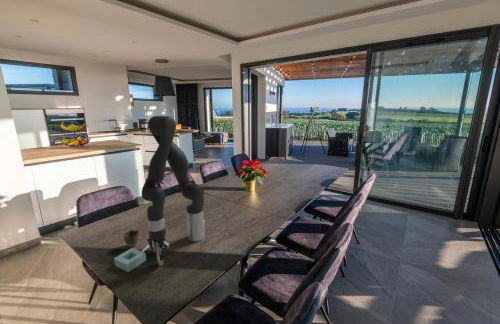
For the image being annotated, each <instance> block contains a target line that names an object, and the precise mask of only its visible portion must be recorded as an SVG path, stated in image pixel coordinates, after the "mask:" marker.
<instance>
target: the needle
mask: <svg viewBox="0 0 500 324" xmlns="http://www.w3.org/2000/svg"><path fill="white" fill-rule="evenodd" d="M161 251H162V250H161ZM156 252H157V259H156V260H157V266H158V267H161V266H164V260H162V261H161V260H160V253H159V250H158V248H157V245H156Z"/></svg>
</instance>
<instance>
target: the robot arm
mask: <svg viewBox="0 0 500 324" xmlns="http://www.w3.org/2000/svg"><path fill="white" fill-rule="evenodd" d="M147 126H148V129H149V132H150V133H151V135H152V136H153V138H154V139H155V141H156V142H157V144H158V146H157V149H156V150H155V152H154V154H153V155H152V156H151V159H150V161H149V166H148V172H147V177H146V178H145V182H144V184H143V187H142V189H141V197H142V199H143V200H144V201H147V202H151V203H152V204H151V205H150V206H148V207H147V208H146V209H147V210H146V215H147V227H148V236H149V237H148V238H147V239H146V240H147V244H148V245H149V248H150V250H151V251H153V252H154V257H155V259H156V260H157V252H156V245H157V248H158V250H159V253H160V260H161V261H162V260H163V261H164V260H165V259H166V253H167V252H168V251H169V249H170V248H171V247H170V246H171V243H170V242H167V241H166V235H167V232H166V231H167V230H166V229H167V228H166V220H165V214H164V213H165V212H164V207H165V202H166V192H165V190H164V188H162V187H159V186H157V184H158V183H159V182H160V183H161V182H163V181H164V179H165V174H166V167H167V163H168V165H169V167H170V170H171V171H172V173H173V175H174V176H175V179H176V181H177V183H178V187H179V190H180V192H181V194H182V196H183V198H184V199H186V200H191V202H192V203H190V204H188V205H187V206H186V219H187V220H186V222H187V234H188V241H190V242H200V241H202V240H204V238H205V236H206V223H205V220H204V205H205V190H204V186H203V185H201V184H197V183H193V182H192V181H191V180H190V178H189V170H190V163H189V160H188V158H187V156H186V154H185V152H184V151H183V149H181V147H179V146H178V145H177V144H176V143H175V142H174V141H173V140H174V138H175V134H176V130H177V124H176V121H175V119H174V118H173V117H172V116H169V115H168V116H167V115H166V116H165V115H154V116H151V117H150V118H149V120H148V125H147ZM161 250H162V251H161Z"/></svg>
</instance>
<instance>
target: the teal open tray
mask: <svg viewBox="0 0 500 324" xmlns="http://www.w3.org/2000/svg"><path fill="white" fill-rule="evenodd" d="M113 261H114V262H113V263H114V266H115V267H116V268H118V269H121V270H123V271H125V272H128V273H130V272H131V271H133V270H134V269H136V268H137V267H138V266H140V265H142V264H143V263H144V262H145V261H147V254H146V252H145V251H144V252H142V250H139V249H136V248H135V247H130V248H129V249H128V250H126V251H125V252H122V253H120V254H119V255H118V256H116V257H114V258H113Z"/></svg>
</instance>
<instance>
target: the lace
mask: <svg viewBox="0 0 500 324" xmlns="http://www.w3.org/2000/svg"><path fill="white" fill-rule="evenodd" d="M148 248H150V246H149V244H148V245H146V247H144V249H142V250H141V251H142V252H144V253H145V251H146V250H147V249H148Z"/></svg>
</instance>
